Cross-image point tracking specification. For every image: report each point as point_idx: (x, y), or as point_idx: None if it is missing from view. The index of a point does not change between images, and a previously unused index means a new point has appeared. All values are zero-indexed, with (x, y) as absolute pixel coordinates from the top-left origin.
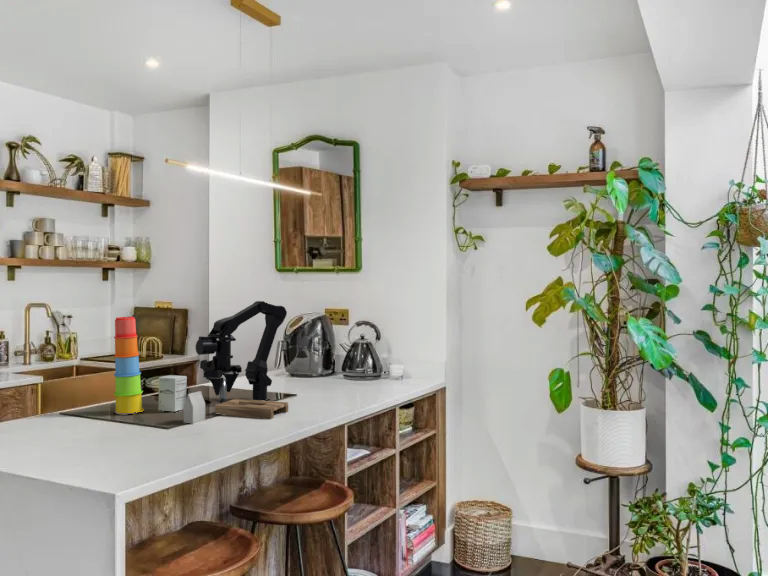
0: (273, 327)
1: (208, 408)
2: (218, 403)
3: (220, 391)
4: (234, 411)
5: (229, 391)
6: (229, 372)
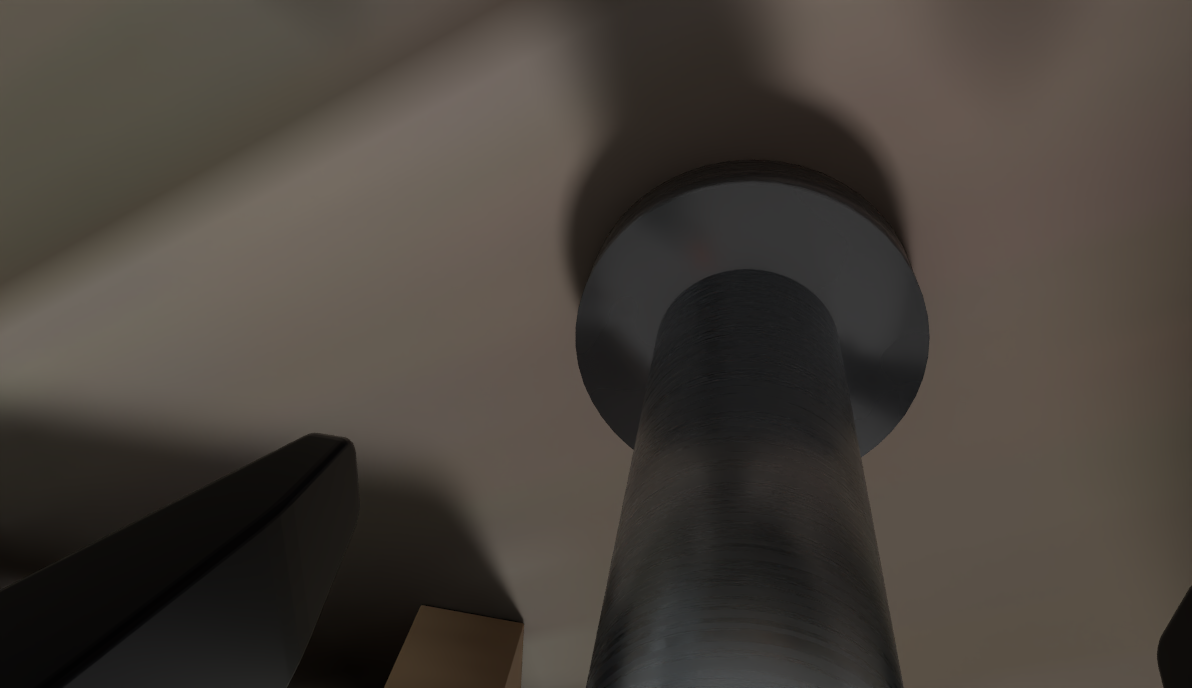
0: None
1: (276, 121)
2: (656, 264)
3: (614, 563)
4: None
5: (1163, 677)
6: None
